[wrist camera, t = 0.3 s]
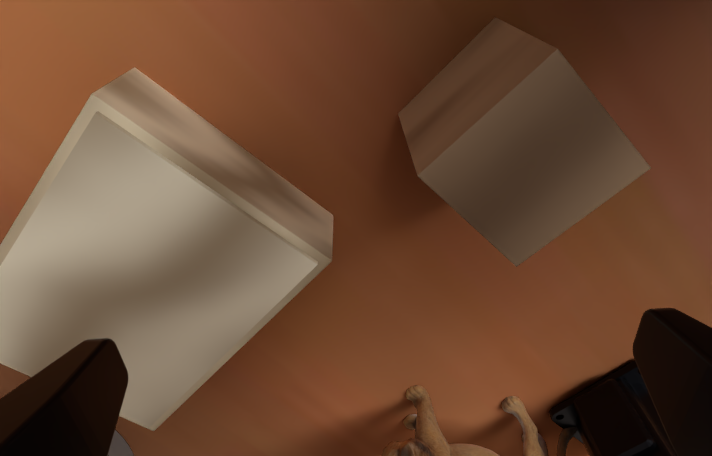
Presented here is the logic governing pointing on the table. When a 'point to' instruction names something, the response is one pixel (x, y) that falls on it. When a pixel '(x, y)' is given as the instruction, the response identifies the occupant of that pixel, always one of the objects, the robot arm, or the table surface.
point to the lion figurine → (433, 451)
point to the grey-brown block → (516, 141)
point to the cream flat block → (153, 247)
